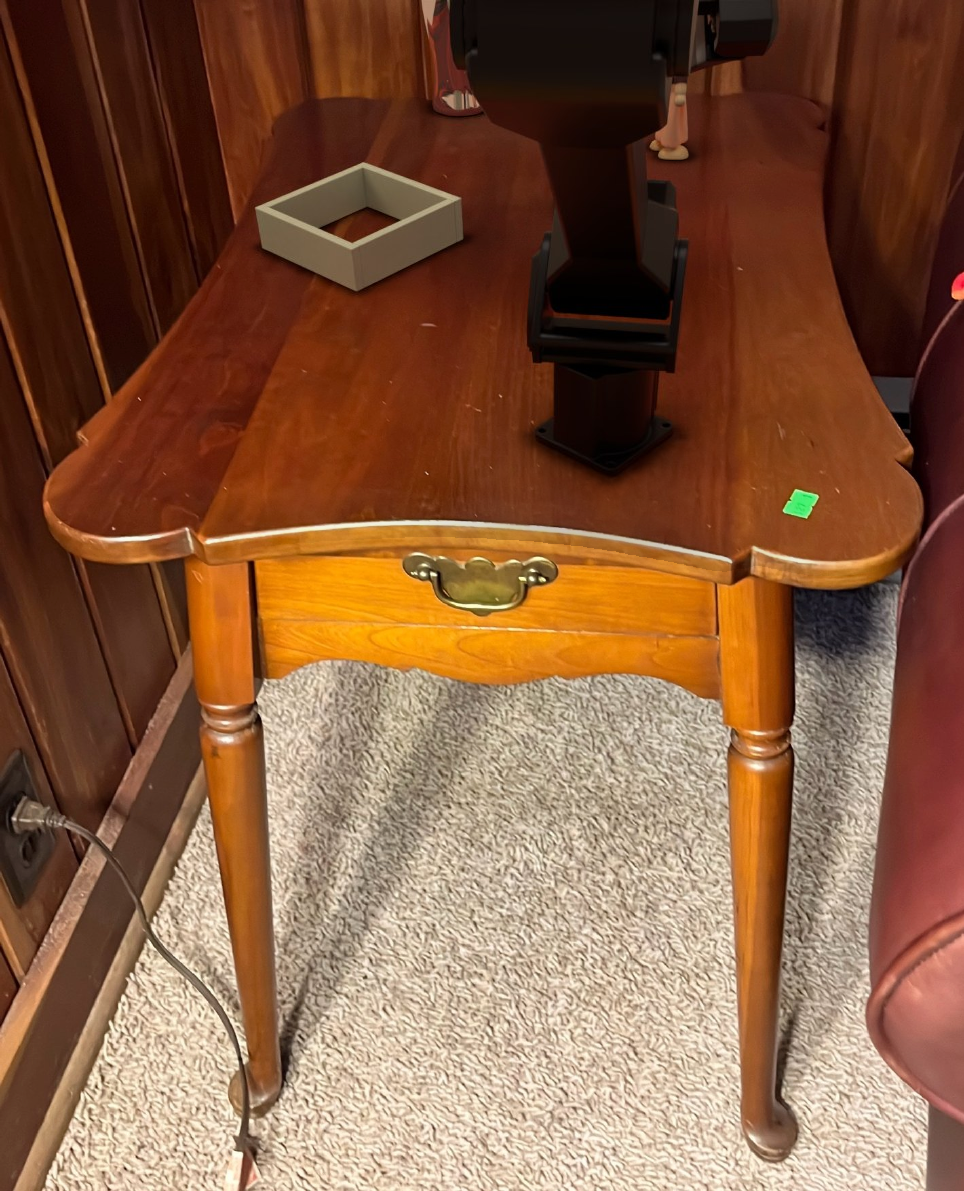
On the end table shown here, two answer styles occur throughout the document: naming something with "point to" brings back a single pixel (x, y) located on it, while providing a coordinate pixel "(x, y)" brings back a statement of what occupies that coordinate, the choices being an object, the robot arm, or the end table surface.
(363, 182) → the square frame
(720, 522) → the end table surface
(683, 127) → the grandmother figurine
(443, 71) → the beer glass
